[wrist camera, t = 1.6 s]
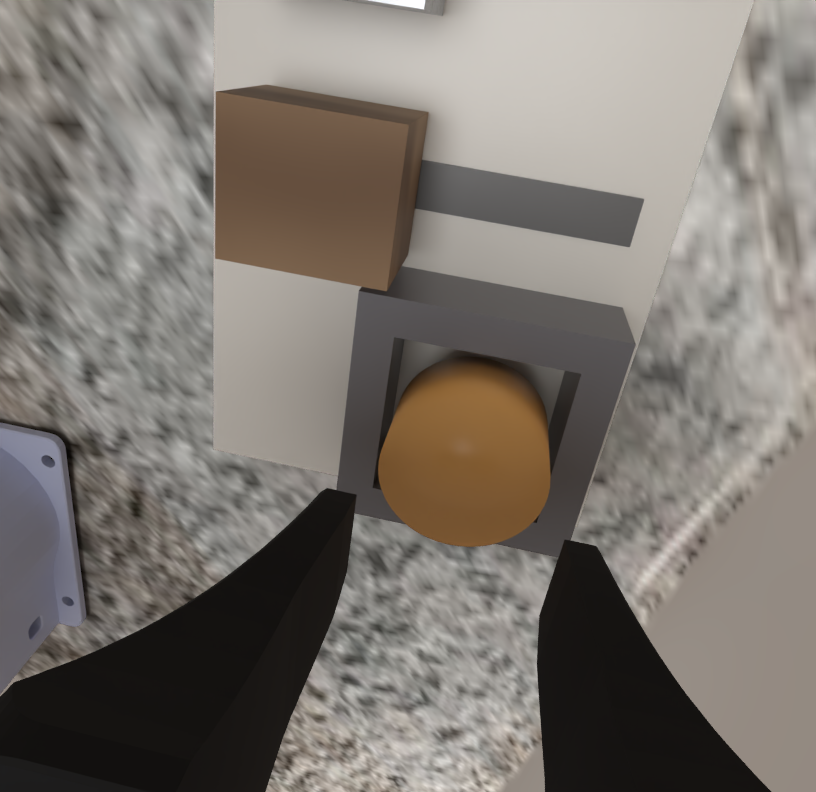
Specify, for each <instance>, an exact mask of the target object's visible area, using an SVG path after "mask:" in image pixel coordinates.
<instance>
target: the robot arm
mask: <svg viewBox="0 0 816 792" xmlns="http://www.w3.org/2000/svg"><path fill="white" fill-rule="evenodd" d="M49 456H50V457H51V458H52V459H54V461H53V460H52V459H51V458H50V457H49ZM356 497H357V495H356V494H352V493H347V492H342V491H338V490H333V489H328V488H327V489H325V490H323V491H321V492H320V493H319V494H318V496H317V497H316V498H315V499H314V500H313V501H312V502H311V503H310V504H309V505H308V506H307V507H306V508H305V509H304V510H303V511H302V512H301V513H300V514H299V515H298V516H297V517H296V518H295V519H294V520H293V521H292V522H291V523H290V524H289V525H288V526H287V527H286V528H285V529H284V530H282V531H281V532H280V533H279V534H278V535H277V536H276V537H275V538H273V539H272V540H271V541H270V542H269V543H268V544H267V545H266V546H264V547H263V548H262V549H261V550H260V551H259V552H257V553H256V554H255V555H253V556H252V557H251V558H250V559H248V560H247V561H246V562H245V563H243V564H242V565H241V566H240V567H238V568H237V569H236V570H234V571H233V572H232V573H231V574H229V575H228V576H227V577H225V578H224V579H222V580H221V581H220V582H218V583H217V584H215V585H214V586H212V587H211V588H210V589H208V590H207V591H205V592H204V593H202V594H200V595H199V596H197V597H196V598H194V599H193V600H191V601H190V602H188V603H187V604H185V605H183V606H181V607H180V608H178V609H176V610H175V611H173V612H171V613H170V614H168V615H166V616H164V617H163V618H161V619H159V620H158V621H156V622H154V623H152V624H150V625H148V626H147V627H145V628H143V629H141V630H139V631H137V632H135V633H133V634H131V635H129V636H127V637H125V638H122V639H120V640H118V641H116V642H114V643H112V644H110V645H108V646H106V647H104V648H102V649H99V650H97V651H95V652H93V653H90V654H88V655H86V656H83V657H81V658H78V659H76V660H73V661H71V662H68V663H66V664H63V665H60V666H58V667H55V668H52V669H50V670H47V671H44V672H42V673H39V674H36V675H34V676H31V677H28V678H25V679H23V680H20V681H17V682H14V683H13V684H12V685H11V686H10V687H9V688H8V690H7V691H6V692H5V693H4V694H2V695H1V696H0V792H265V791H266V788H267V785H268V782H269V779H270V776H271V772H272V769H273V766H274V763H275V760H276V757H277V754H278V751H279V748H280V744H281V741H282V739H283V736H284V733H285V731H286V728H287V725H288V723H289V720H290V718H291V715H292V713H293V710H294V708H295V706H296V703H297V701H298V699H299V696H300V694H301V692H302V690H303V687H304V685H305V683H306V680H307V678H308V676H309V673H310V671H311V669H312V666H313V664H314V662H315V659H316V657H317V655H318V652H319V650H320V648H321V645H322V643H323V640H324V638H325V636H326V633H327V631H328V629H329V626H330V624H331V621H332V619H333V616H334V613H335V610H336V607H337V603H338V600H339V597H340V593H341V590H342V586H343V583H344V580H345V576H346V573H347V566H348V558H349V551H350V543H351V535H352V528H353V520H354V512H355V505H356ZM85 619H86V608H85V600H84V592H83V584H82V576H81V568H80V560H79V552H78V544H77V536H76V528H75V520H74V512H73V504H72V496H71V488H70V480H69V471H68V463H67V455H66V448H65V445H64V442H63V441H62V440H61V438H59V437H58V436H57V435H54V434H51V433H47V432H43V431H38V430H33V429H29V428H24V427H19V426H15V425H10V424H5V423H1V422H0V694H1V693H2V691H3V690H4V689H5V688H6V687H7V685H8V684H9V683H10V682H11V680H12V679H13V678H14V677H15V676H16V674H17V673H18V672H19V671H20V669H21V668H22V667H23V666H24V665H25V663H26V662H27V661H28V660H29V658H30V657H31V656H32V655H33V654H34V652H35V651H36V650H37V649H38V647H39V646H40V645H41V644H42V643H43V641H44V640H45V639H46V638H47V636H48V635H49V634H50V633H51V632H52V630H53V629H54V628H55V627H56V625H57V624H58V623H60V624H64V625H68V626H75V627H76V626H80V625H81V624H82V622H83V621H84V620H85ZM537 672H538V688H539V704H540V718H541V732H542V746H543V760H544V772H545V773H544V775H545V792H771V791H770V790H769V789H768V788H767V787H766V786H765V785H764V784H763V783H762V782H761V781H760V780H759V779H758V778H757V776H756V775H755V774H754V773H753V772H752V771H751V770H750V769H749V768H748V767H747V766H746V765H745V763H744V762H743V761H742V760H741V759H740V758H739V757H738V756H737V755H736V753H735V752H734V751H733V750H732V749H731V748H730V747H729V746H728V745H727V744H726V742H725V741H724V740H723V739H722V738H721V737H720V735H718V733H717V732H716V731H715V730H714V728H713V727H712V726H711V725H710V724H709V722H708V721H707V720H706V719H705V717H704V716H703V715H702V713H701V712H700V711H699V710H698V708H697V707H696V706H695V705H694V703H693V702H692V701H691V700H690V698H689V697H688V696H687V695H686V693H685V692H684V690H683V689H682V688H681V686H680V685H679V684H678V682H677V681H676V679H675V678H674V677H673V675H672V674H671V672H670V671H669V669H668V668H667V666H666V665H665V663H664V662H663V660H662V659H661V657H660V656H659V654H658V653H657V651H656V650H655V648H654V647H653V645H652V643H651V642H650V640H649V639H648V637H647V635H646V634H645V632H644V630H643V629H642V627H641V625H640V624H639V622H638V620H637V619H636V617H635V615H634V614H633V612H632V610H631V608H630V607H629V605H628V603H627V601H626V600H625V598H624V596H623V594H622V592H621V591H620V589H619V587H618V585H617V583H616V581H615V580H614V578H613V576H612V574H611V572H610V570H609V568H608V566H607V564H606V562H605V560H604V559H603V557H602V555H601V553H600V551H599V550H598V548H597V547H596V546H593V545H589V544H584V543H579V542H575V541H570V540H564V543H563V546H562V549H561V552H560V555H559V558H558V561H557V564H556V567H555V570H554V573H553V576H552V579H551V582H550V585H549V588H548V591H547V594H546V598H545V601H544V604H543V607H542V610H541V613H540V618H539V635H538V655H537Z"/></svg>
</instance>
